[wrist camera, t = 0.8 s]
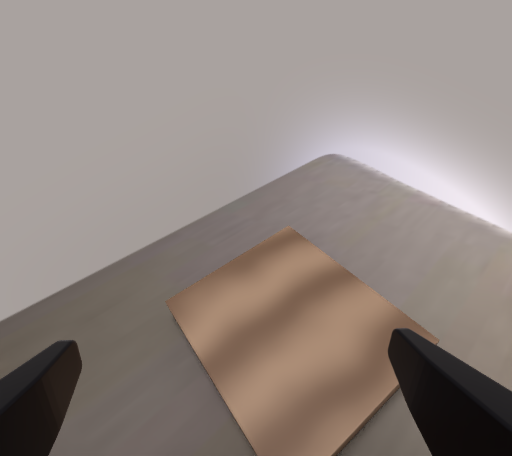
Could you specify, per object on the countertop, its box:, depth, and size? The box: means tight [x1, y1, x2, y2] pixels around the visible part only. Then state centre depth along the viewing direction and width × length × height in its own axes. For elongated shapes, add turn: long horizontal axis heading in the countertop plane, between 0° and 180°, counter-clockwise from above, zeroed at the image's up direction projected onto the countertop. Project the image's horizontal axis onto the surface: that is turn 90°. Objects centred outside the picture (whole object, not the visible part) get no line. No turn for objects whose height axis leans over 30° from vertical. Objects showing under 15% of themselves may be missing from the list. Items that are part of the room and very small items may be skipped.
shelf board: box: [165, 226, 439, 456], centre depth 24 cm, size 16×14×2 cm
